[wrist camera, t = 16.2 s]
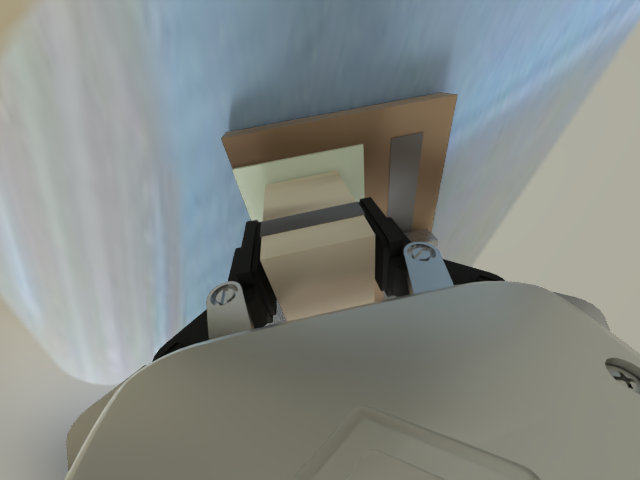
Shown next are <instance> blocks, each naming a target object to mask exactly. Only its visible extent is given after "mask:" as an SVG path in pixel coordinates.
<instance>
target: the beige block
mask: <svg viewBox="0 0 640 480" xmlns="http://www.w3.org/2000/svg"><path fill="white" fill-rule="evenodd" d="M260 237H261V252H260V261H261V263H262V266H263V268H264V270H265V273H266V275H267V277H268V280H269V282H270V284H271V287H272V289H273V291H274V293H275V296H276V298H277V300H278V303H279V305H280V307H281V310H282V312H283V314H284V317H285V319H286V321H291V320H296V319H300V318H305V317H309V316H314V315H318V314H323V313H327V312H332V311H336V310H341V309H345V308H350V307H354V306H359V305H363V304H368V303H373V302H374V299H375V233H374V232H373V230H372V228H371V227H370V225H369V223H368V222H367V220H366V218H365V213H364V211H363V210H362V208H361V207H360V205H359V203H358V202H356V201H355V200H354V198H353V196H352V195H351V193H350V191H349V189H348V188H347V186H346V184H345V183H344V181H343V179H342V178H341V176H340V174H339V173H338V171H332V172H327V173H322V174H318V175H313V176H308V177H303V178H298V179H293V180H288V181H283V182H278V183H273V184H269V185H265V197H264V211H263V221H262V222H261V229H260Z"/></svg>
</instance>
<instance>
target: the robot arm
mask: <svg viewBox="0 0 640 480" xmlns="http://www.w3.org/2000/svg"><path fill="white" fill-rule="evenodd" d="M358 203H359V205H360V207H361V208H362V210H363V211H364V213H365V218H366V220H367V222H368V223H369V225H370V227H371V228H372V230H373V232H374V233H375V280H376V282H377V285H378V287H379V289H380V291H385V293H386V295H387V297H390V296H397V297H396V298H391V299H387V300H382V301H377V302H373V303H368V304H363V305H359V306H354V307H350V308H345V309H341V310H336V311H332V312H327V313H323V314H318V315H314V316H309V317H305V318H300V319H296V320H291V321H287V322H283V323H278V324H274V325H269V326H265V325H266V324H268V323H272V322H273V315H276V308H277V298H276V296H275V293H274V291H273V289H272V287H271V284H270V282H269V280H268V277H267V275H266V273H265V270H264V268H263V266H262V263H261V261H260V252H261V237H260V229H261V222H259V221H258V220H253V221H248V222H246V227H245V232H244V237H243V242H242V246H241V248H237V249H236V250H235V253H234V257H233V262H232V266H231V270H230V274H229V278H228V282H225V283H222V284H220V285H218V286H217V287H215V288H214V289H213V290H212V291H211V292H210V293H209V295H208V297H207V301H206V303H207V309H206V310H205V311H204V312H203V313H202V314H200V315H199V316H198V317H197V318H196V319H194V320H193V321H192V322H191V323H190V324H188V325H187V326H186V327H185V328H184V329H182V330H181V331H180V332H179V333H178V334H176V335H175V336H174V337H173V338H172V339H171V340H169V341H168V342H167V343H166V344H165V345H164V346H163V347H161V348H160V349H159V351H158V352H157V354H156V355H155V357H154V359H153V361H152V363H150V364H148V365H145V366H143V367H142V368H141V369H139V370H138V371H137V372H135V373H134V374H133V375H131V376H130V377H129V378H127V379H126V380H125V381H123V382H122V383H121V384H119V385H118V386H117V387H116V388H114V389H113V390H112V391H110V392H109V393H108V394H106V395H105V396H104V397H102V398H101V399H100V400H98V401H97V402H96V403H94V404H93V405H92V406H90V407H89V408H88V409H87V410H86V411H85V412H83V413H82V414H81V415H80V416H79V417H78V419H77V420H76V421H75V423H74V424H73V425H72V427H71V429H70V431H69V433H68V435H67V441H66V446H67V460H68V474H67V476H66V478H65V479H64V480H640V354H639V353H638V352H637V351H636V350H634V349H633V348H632V347H630V346H629V345H628V344H626V343H625V342H624V341H622V340H621V339H620V338H618V337H617V336H616V335H614V334H613V333H612V332H611V331H610V329H609V327H608V324H607V322H606V319H605V317H604V315H603V314H602V312H601V311H600V310H599V309H598V308H596V307H595V306H594V305H593V304H591V303H588V302H587V301H585V300H582V299H579V298H576V297H572V296H568V295H564V294H560V293H555V292H551V291H549V290H547V289H544V288H542V287H539V286H536V285H531V284H526V283H520V282H508V281H505V280H504V279H503V278H501V277H499V276H497V275H495V274H492V273H490V272H486V271H483V270H479V269H476V268H472V267H469V266H465V265H462V264H458V263H455V262H451V261H448V260H444V259H442V256H441V254H440V252H439V250H438V249H437V248H436V247H435V246H433V245H431V244H429V243H425V242H413V243H412V242H411V241H410V240H409V239H408V237H407V236H406V235H405V234H404V232H403V231H402V230H401V229H400V228H399V226H398V225H397V224H396V223H395V221H394V220H393V219H392V218H391V217H386V216H385V215H384V213H383V212H382V211H381V209H380V208H379V207H378V206H377V204H376V203H375V202H374V200H373V199H372V198H371V197H367V198H362V199H360V202H358ZM264 326H265V327H264Z"/></svg>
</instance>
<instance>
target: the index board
mask: <svg viewBox="0 0 640 480" xmlns="http://www.w3.org/2000/svg"><path fill="white" fill-rule="evenodd" d="M456 99H457V94H448V93H436V94H431V95H425V96H420V97H414V98H409V99H404V100H398V101H393V102H387V103H382V104H377V105H371V106H366V107H360V108H355V109H350V110H344V111H339V112H333V113H328V114H323V115H317V116H312V117H306V118H301V119H296V120H290V121H285V122H279V123H274V124H269V125H263V126H258V127H252V128H247V129H242V130H236V131H231V132H226V133H225V135H224V136H223V137H222V138H221V140H222V142H223V145H224V147H225V150H226V153H227V155H228V158H229V161H230V163H231V166H232V169H234V168H239V167H244V166H249V165H255V164H260V163H265V162H270V161H275V160H281V159H286V158H291V157H296V156H301V155H307V154H312V153H317V152H322V151H328V150H333V149H338V148H343V147H348V146H354V145H359V144H363V150H364V192H365V198H367V197H371V198H372V199H373V200H374V202H375V203H376V204H377V206H378V207H379V208H380V209H381V211H382V212H383V213H384V215H385V216H386V217H391V218H392V219H393V220H394V221H395V223H396V224H397V225H398V226H399V228H400V229H401V230H402V231H403V232H404V233H406V232H411V231H415V230H420V229H425V228H427V229H428V230H429V231H430V232H431V230H432V225H433V220H434V215H435V209H436V204H437V199H438V194H439V188H440V183H441V178H442V173H443V167H444V162H445V157H446V152H447V147H448V141H449V136H450V131H451V126H452V120H453V115H454V110H455V105H456ZM396 297H397V296H390V297H387V295H386V293H385V291H384V292H382V291H380V289H379V287H378V285H377V282H376V280H375V299H374V302H377V301H382V300H387V299H391V298H396Z"/></svg>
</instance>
